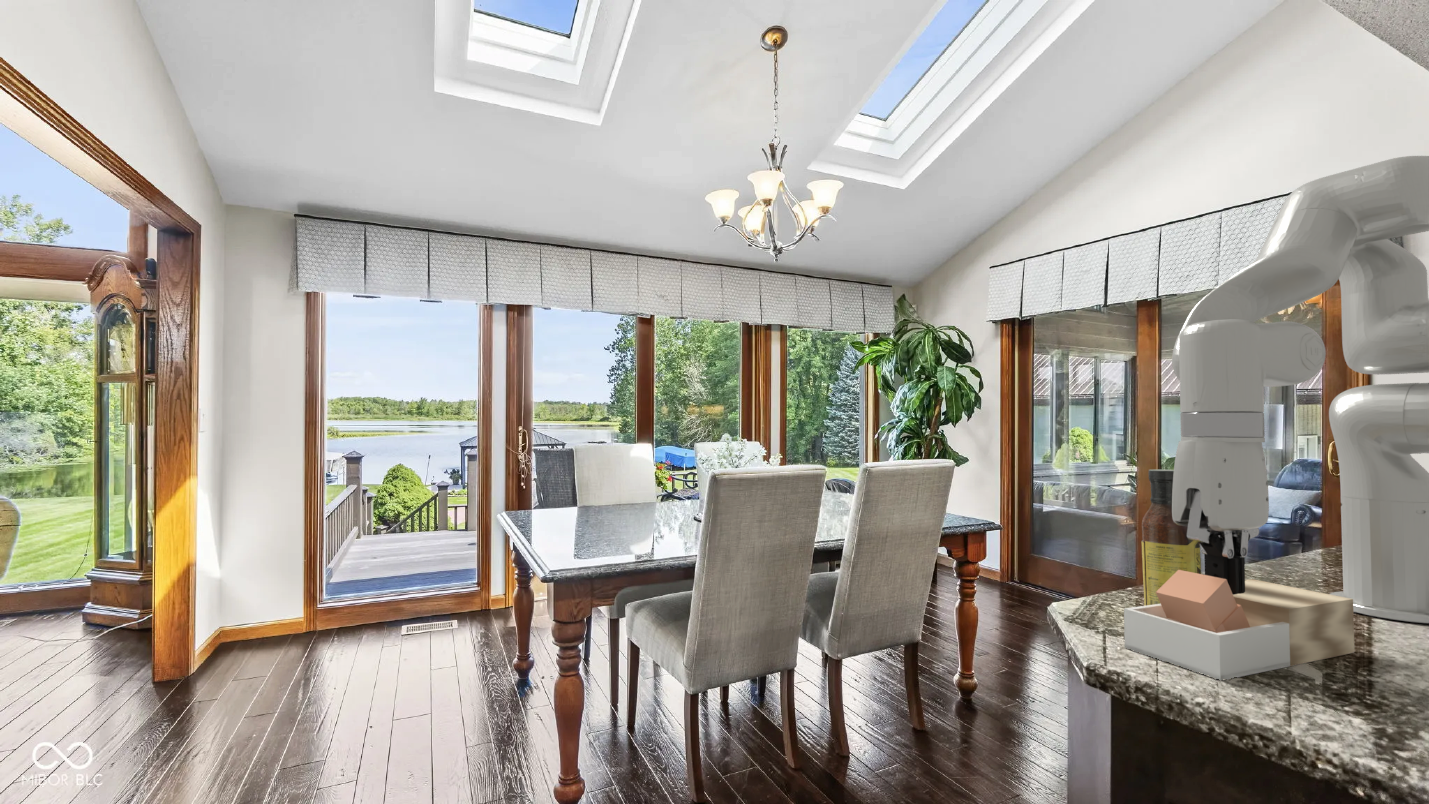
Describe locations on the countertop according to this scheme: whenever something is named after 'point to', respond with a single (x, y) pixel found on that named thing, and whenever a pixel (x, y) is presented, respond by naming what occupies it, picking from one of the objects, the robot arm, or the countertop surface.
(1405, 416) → the robot arm
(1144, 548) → the sauce bottle
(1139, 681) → the countertop surface
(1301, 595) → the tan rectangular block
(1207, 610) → the block
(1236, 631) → the box
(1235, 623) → the block
